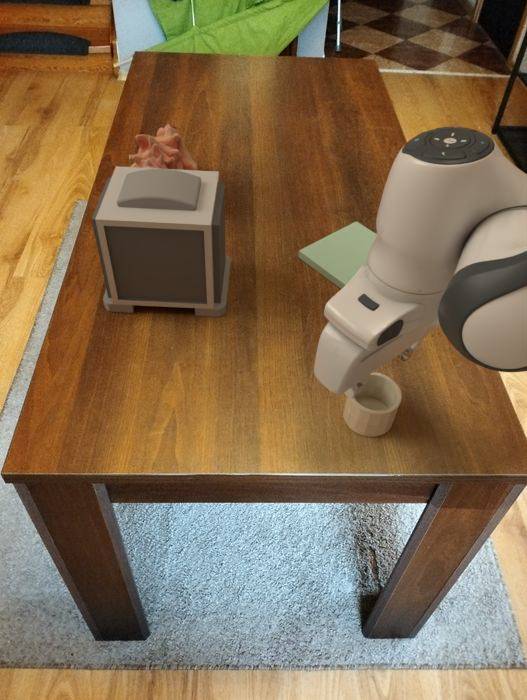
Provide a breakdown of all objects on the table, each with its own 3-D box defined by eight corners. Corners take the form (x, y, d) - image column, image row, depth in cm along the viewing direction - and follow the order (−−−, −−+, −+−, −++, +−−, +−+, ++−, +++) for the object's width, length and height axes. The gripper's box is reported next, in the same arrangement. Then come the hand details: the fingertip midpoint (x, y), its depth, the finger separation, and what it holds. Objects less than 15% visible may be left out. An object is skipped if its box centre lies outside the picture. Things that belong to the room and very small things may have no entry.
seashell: (225, 210, 99) (161, 155, 88) (170, 250, 105) (105, 204, 94) (215, 135, 111) (158, 80, 101) (167, 175, 117) (109, 127, 107)
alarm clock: (231, 261, 95) (230, 160, 81) (225, 317, 86) (223, 213, 72) (120, 256, 95) (101, 153, 81) (103, 311, 86) (78, 206, 72)
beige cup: (403, 419, 74) (412, 395, 71) (369, 445, 71) (376, 422, 68) (366, 387, 78) (373, 363, 74) (332, 412, 75) (337, 388, 71)
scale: (424, 273, 95) (429, 259, 93) (367, 308, 88) (370, 294, 86) (355, 227, 103) (357, 213, 101) (297, 257, 96) (299, 242, 94)
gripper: (443, 235, 65) (413, 321, 75) (312, 311, 55) (298, 398, 65) (490, 263, 61) (452, 350, 72) (359, 349, 52) (337, 434, 62)
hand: (378, 373), depth 68 cm, fingers open, 8 cm apart
